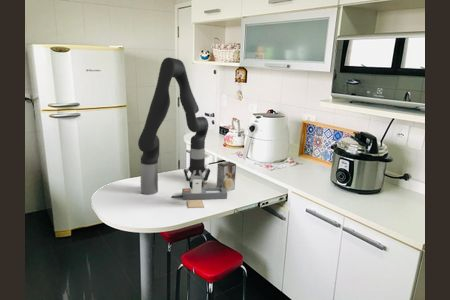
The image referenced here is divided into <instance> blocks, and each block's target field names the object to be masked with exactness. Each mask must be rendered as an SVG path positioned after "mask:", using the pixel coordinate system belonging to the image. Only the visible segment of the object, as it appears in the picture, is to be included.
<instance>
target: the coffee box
mask: <svg viewBox="0 0 450 300" xmlns="http://www.w3.org/2000/svg"><path fill="white" fill-rule="evenodd" d="M236 170H237V164H236V163H234V162H232V161H225V162H219V163H217V172H216V174H217V175H216V188H225V190H226V192H227V193H228V192H229V191H233V190H235V187H236V174H237V173H236Z"/></svg>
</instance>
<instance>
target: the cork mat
mask: <svg viewBox="0 0 450 300" xmlns="http://www.w3.org/2000/svg"><path fill="white" fill-rule="evenodd" d="M186 201H187V202H186V203H187V207H188V209H198V208H199V209H201V208H202V209H203V208H205V204H204V201H203V200H186Z"/></svg>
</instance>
